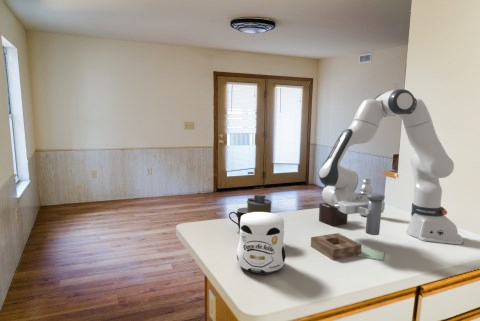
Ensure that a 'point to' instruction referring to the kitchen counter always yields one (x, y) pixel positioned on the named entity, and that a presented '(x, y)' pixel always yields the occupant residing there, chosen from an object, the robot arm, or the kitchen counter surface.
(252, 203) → the canister
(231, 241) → the kitchen counter surface
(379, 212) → the grey capped peg
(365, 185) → the plastic bottle
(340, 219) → the brown coffee grinder
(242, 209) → the coffee mug
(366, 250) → the mat
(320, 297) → the kitchen counter surface
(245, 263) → the dulce de leche jar
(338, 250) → the socket block
